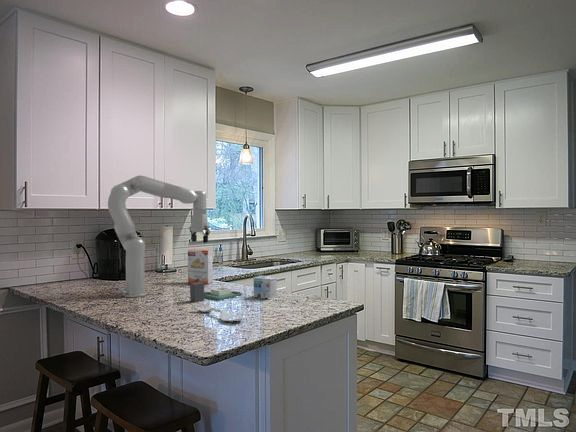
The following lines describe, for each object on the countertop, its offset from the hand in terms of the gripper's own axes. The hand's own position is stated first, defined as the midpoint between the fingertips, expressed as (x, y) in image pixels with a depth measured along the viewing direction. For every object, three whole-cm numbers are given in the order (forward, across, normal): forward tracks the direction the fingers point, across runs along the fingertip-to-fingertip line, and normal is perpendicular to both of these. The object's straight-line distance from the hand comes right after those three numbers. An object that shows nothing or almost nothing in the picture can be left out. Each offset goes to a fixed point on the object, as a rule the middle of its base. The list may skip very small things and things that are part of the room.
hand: (199, 242), depth 251 cm
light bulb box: (+27, +45, +5) cm, 53 cm away
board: (+27, +25, -7) cm, 37 cm away
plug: (+27, +23, -22) cm, 42 cm away
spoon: (+28, +53, -37) cm, 70 cm away
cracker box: (+27, -13, +11) cm, 32 cm away
